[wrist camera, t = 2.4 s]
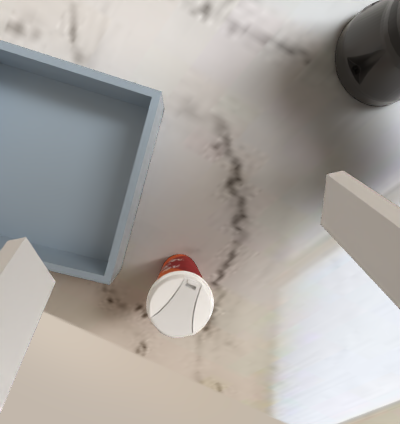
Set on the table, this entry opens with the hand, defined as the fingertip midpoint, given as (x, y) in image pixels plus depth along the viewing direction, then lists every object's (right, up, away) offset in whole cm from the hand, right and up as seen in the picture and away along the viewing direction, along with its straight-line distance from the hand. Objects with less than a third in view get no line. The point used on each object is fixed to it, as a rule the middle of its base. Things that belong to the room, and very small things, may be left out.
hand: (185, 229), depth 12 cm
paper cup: (-3, -9, +31) cm, 32 cm away
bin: (-21, +8, +28) cm, 36 cm away
